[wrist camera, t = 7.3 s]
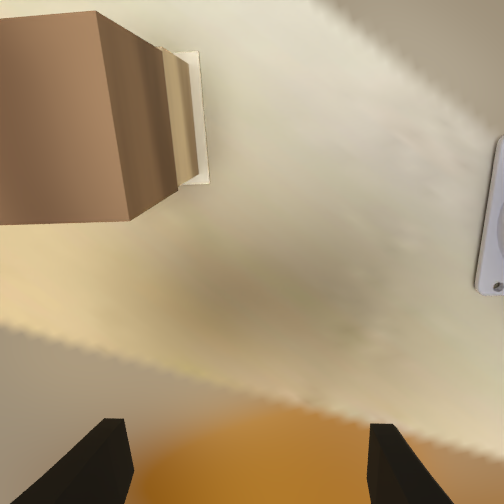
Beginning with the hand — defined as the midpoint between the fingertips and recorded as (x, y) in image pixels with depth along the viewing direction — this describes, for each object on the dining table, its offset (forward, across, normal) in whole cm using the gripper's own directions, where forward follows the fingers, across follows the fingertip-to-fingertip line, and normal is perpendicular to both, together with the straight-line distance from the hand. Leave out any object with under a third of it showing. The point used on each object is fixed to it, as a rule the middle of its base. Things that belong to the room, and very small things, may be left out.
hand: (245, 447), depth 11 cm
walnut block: (+6, +6, -9) cm, 12 cm away
